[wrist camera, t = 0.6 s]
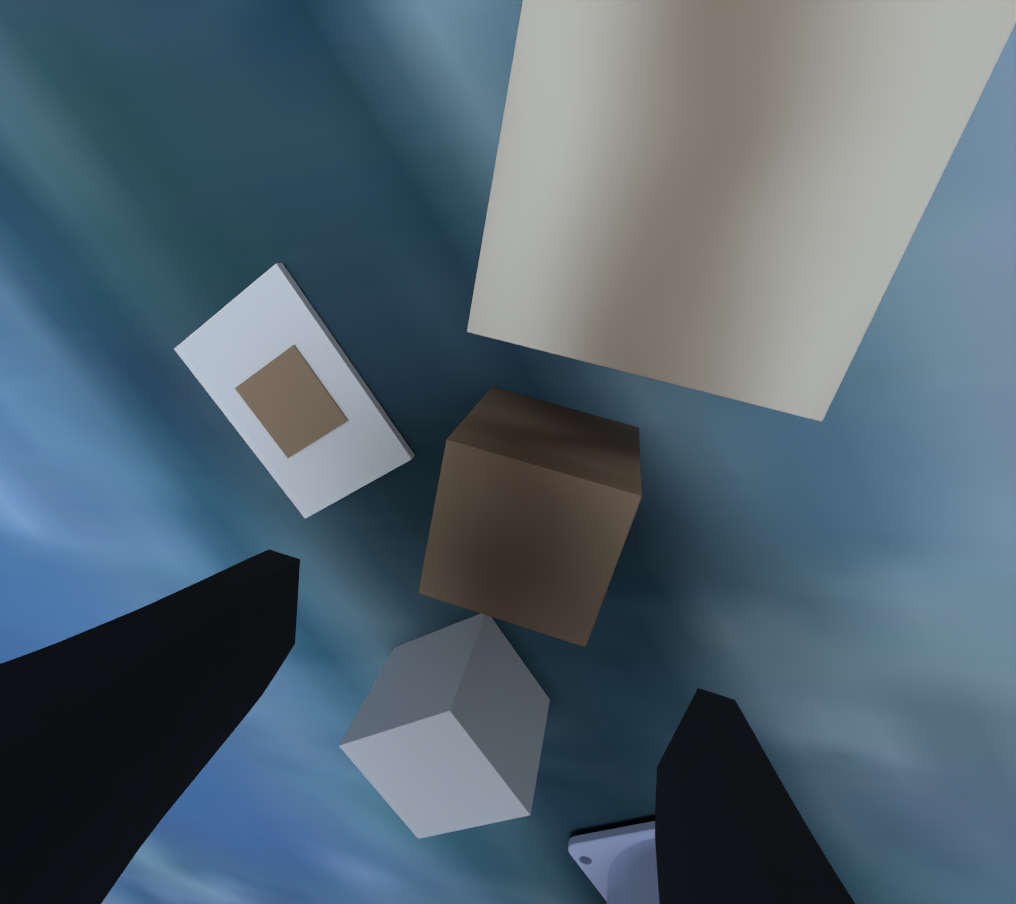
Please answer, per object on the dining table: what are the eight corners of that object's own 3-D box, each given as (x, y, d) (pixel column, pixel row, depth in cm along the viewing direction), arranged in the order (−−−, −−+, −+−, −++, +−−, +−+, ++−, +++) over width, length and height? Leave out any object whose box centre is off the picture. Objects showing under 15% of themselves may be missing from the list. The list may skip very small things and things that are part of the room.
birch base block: (936, 21, 11) (1055, -60, 8) (780, 379, 15) (821, 421, 11) (568, -41, 12) (546, -136, 9) (500, 310, 15) (466, 331, 12)
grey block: (550, 698, 20) (530, 815, 16) (457, 726, 22) (418, 838, 18) (487, 609, 19) (449, 710, 15) (395, 645, 21) (338, 745, 17)
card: (415, 455, 17) (410, 460, 17) (309, 514, 19) (303, 520, 19) (282, 262, 16) (274, 263, 15) (181, 347, 18) (171, 349, 17)
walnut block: (638, 426, 16) (641, 496, 12) (595, 550, 18) (585, 647, 13) (492, 386, 16) (446, 439, 12) (465, 510, 18) (418, 593, 14)
